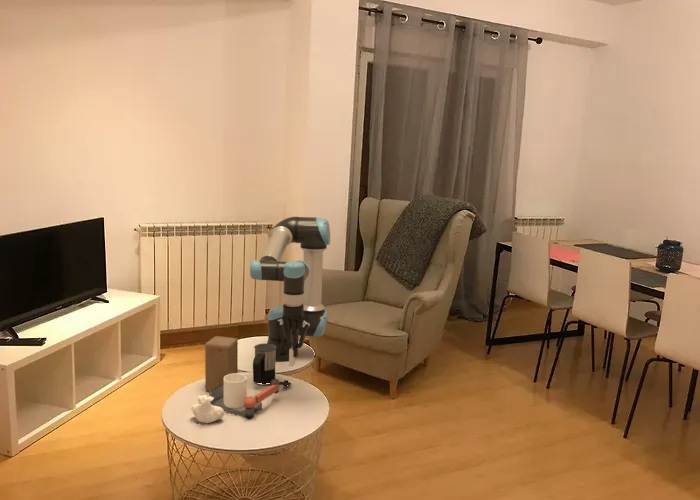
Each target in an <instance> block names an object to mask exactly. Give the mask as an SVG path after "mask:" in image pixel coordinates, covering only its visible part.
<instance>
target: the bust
mask: <svg viewBox="0 0 700 500" xmlns="http://www.w3.org/2000/svg"><path fill="white" fill-rule="evenodd" d="M213 399H214V397H211V396H209V394H203V395H197V400H198V403H196V404H193V405H192V406H191V407H190V410H191V412H192V414H193V415H194V417H195V419H196V420H197V421H199V422H200V423H203V424H210V423H212V422H216V421H218V420H222V419H223V417H224V415H225V411H224V410H223V409H222V408H221V407H219V406H213V405H211V401H213Z"/></svg>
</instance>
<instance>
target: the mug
mask: <svg viewBox="0 0 700 500" xmlns="http://www.w3.org/2000/svg"><path fill="white" fill-rule="evenodd" d="M245 397H247V376H246V375H245V374H243V373H238V372H237V373H233V374H228V375H226V376H225V377H224V405H225V406H226V407H228V408H240V407H243V406H244V398H245Z"/></svg>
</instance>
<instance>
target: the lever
mask: <svg viewBox="0 0 700 500" xmlns="http://www.w3.org/2000/svg"><path fill="white" fill-rule="evenodd" d="M279 382H280V380H279V379H277V378H275V379H273V380H271V384H270V385H269V386H268V387H267V388H265V389H263V390H262V391H260V392H254V393H252V394H251V395H249V396H246V397H245V398H244V407H246V408H253V407H254V408H256V407H258V406H259V405H261V403H262V401H264V400H266V399H267V398H269V397H270V396H271V395H273V394H278V393H279V392H280V385H279Z"/></svg>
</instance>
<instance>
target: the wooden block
mask: <svg viewBox="0 0 700 500" xmlns="http://www.w3.org/2000/svg"><path fill="white" fill-rule="evenodd" d="M238 340H239V339H238V338H235V337H229V336H228V337H227V336H219V335H216V336H214V337H212V338H211V339H209V340H208V341H207V342H206V343H205V345H204V346H205V348H204V349H205V352H204V354H205V355H204V356H205V357H204V358H205V359H204V361H205V362H204V363H205V366H204V367H205V371H204V372H205V376H204V377H205V383H204V385H205V391H206V392H209V390H211V389H213V388H215V387H217V386H219V385H220V384H222V383H224V377H225V376H226V375H228V374H233V373H238V369H239V367H238V366H239V365H238V361H239V360H238V359H239V358H238V356H239V355H238V346H239V345H238V344H239V343H238Z"/></svg>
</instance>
